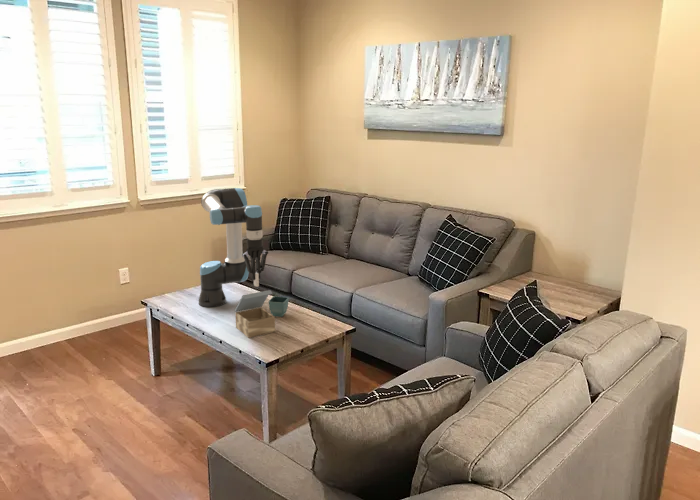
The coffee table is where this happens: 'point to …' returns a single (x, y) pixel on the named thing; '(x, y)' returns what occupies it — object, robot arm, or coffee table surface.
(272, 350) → the coffee table surface
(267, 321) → the crate
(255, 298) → the lid
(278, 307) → the flower pot
